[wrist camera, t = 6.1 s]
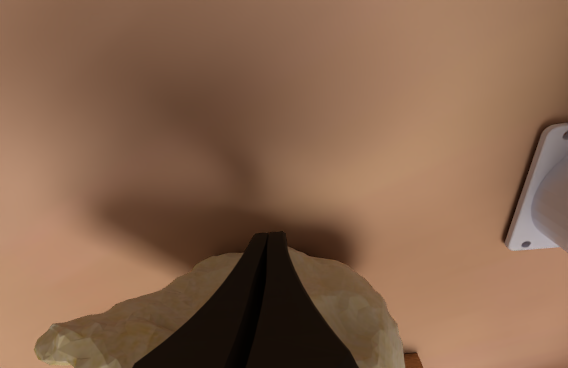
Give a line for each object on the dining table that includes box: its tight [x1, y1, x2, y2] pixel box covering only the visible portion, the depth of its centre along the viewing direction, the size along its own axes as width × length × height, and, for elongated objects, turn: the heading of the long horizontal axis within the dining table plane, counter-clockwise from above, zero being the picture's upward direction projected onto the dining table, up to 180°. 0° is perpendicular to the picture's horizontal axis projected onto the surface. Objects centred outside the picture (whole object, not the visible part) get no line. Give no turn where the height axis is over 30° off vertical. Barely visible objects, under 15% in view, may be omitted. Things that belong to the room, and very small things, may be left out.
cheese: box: [34, 247, 405, 368], centre depth 15 cm, size 15×7×15 cm
